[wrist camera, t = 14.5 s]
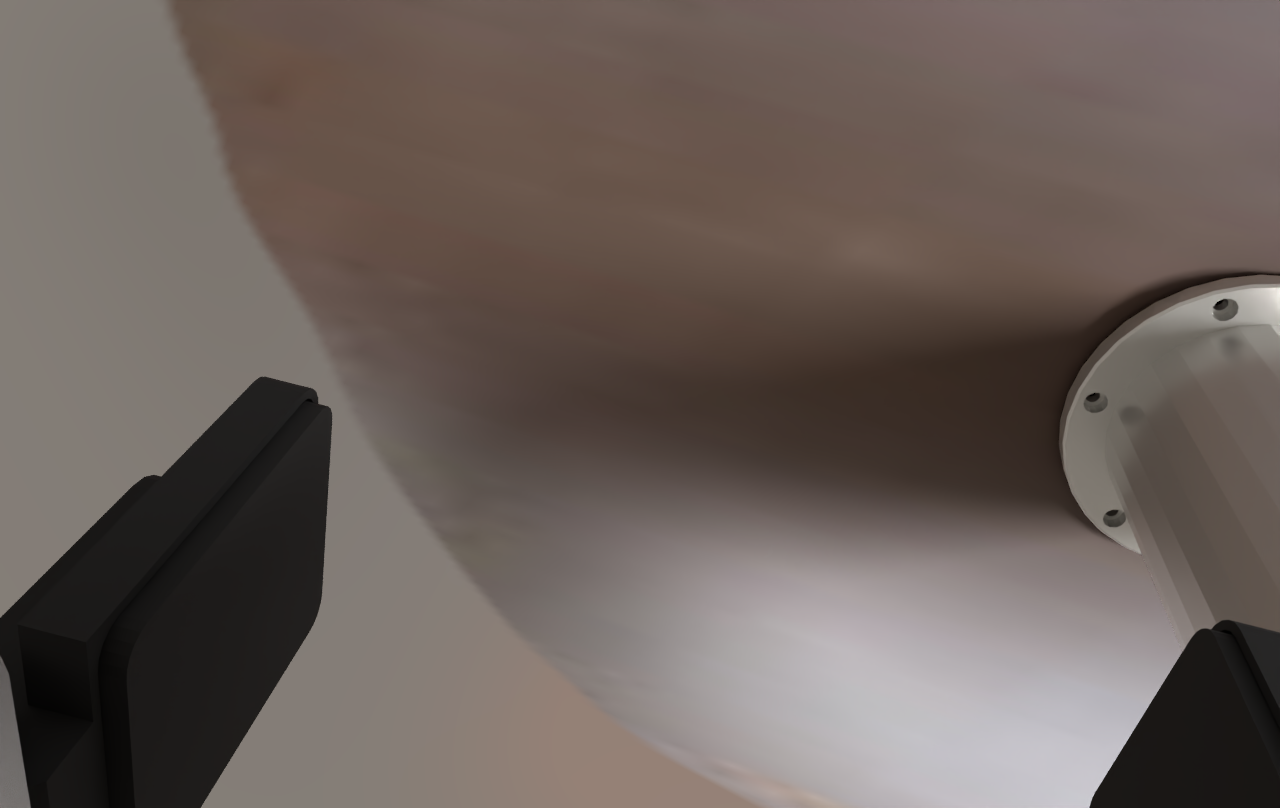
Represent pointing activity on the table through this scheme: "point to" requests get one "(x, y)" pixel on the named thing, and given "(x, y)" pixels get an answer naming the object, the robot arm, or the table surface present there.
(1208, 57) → the table surface
